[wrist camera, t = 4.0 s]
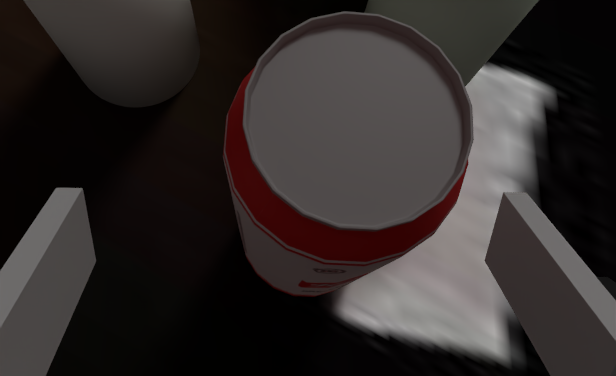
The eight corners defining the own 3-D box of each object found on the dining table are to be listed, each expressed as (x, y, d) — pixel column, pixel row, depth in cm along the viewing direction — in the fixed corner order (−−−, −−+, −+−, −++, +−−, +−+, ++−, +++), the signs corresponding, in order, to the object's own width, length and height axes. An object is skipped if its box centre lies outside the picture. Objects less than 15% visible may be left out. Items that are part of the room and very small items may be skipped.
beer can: (390, 239, 27) (556, 128, 12) (300, 325, 26) (357, 324, 10) (307, 152, 28) (362, -59, 13) (216, 230, 27) (153, 100, 11)
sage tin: (462, 11, 31) (573, -163, 20) (471, 117, 29) (597, -9, 18) (350, 6, 31) (401, -175, 19) (353, 113, 29) (410, -18, 18)
